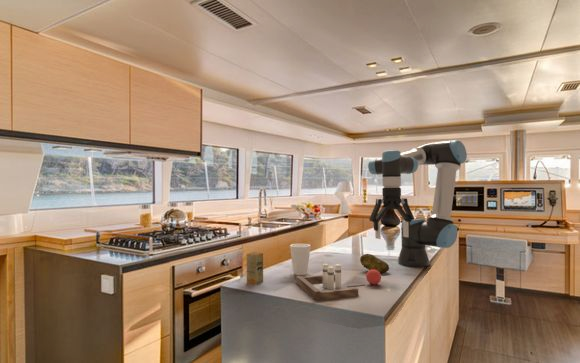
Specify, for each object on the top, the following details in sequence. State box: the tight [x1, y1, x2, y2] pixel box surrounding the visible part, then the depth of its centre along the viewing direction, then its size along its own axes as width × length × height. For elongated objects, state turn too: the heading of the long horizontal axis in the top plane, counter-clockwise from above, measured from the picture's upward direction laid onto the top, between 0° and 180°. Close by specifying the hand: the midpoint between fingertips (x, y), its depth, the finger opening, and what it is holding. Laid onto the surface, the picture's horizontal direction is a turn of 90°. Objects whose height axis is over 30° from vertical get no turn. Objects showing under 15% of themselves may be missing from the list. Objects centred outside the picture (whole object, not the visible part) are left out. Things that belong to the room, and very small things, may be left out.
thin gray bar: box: [346, 283, 366, 288], centre depth 137 cm, size 8×1×1 cm, turn 107°
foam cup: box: [289, 243, 311, 276], centre depth 158 cm, size 10×9×13 cm
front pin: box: [334, 263, 342, 290], centre depth 135 cm, size 2×2×9 cm
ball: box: [365, 269, 382, 286], centre depth 139 cm, size 6×6×6 cm
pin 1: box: [322, 263, 330, 289], centre depth 136 cm, size 2×2×9 cm
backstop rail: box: [295, 274, 359, 301], centre depth 133 cm, size 17×22×3 cm
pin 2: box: [327, 266, 335, 291], centre depth 131 cm, size 2×2×9 cm
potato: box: [359, 253, 390, 274], centre depth 160 cm, size 8×13×8 cm, turn 45°
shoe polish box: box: [246, 251, 264, 285], centre depth 143 cm, size 5×5×12 cm
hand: (392, 237), depth 143 cm, fingers open, 13 cm apart
